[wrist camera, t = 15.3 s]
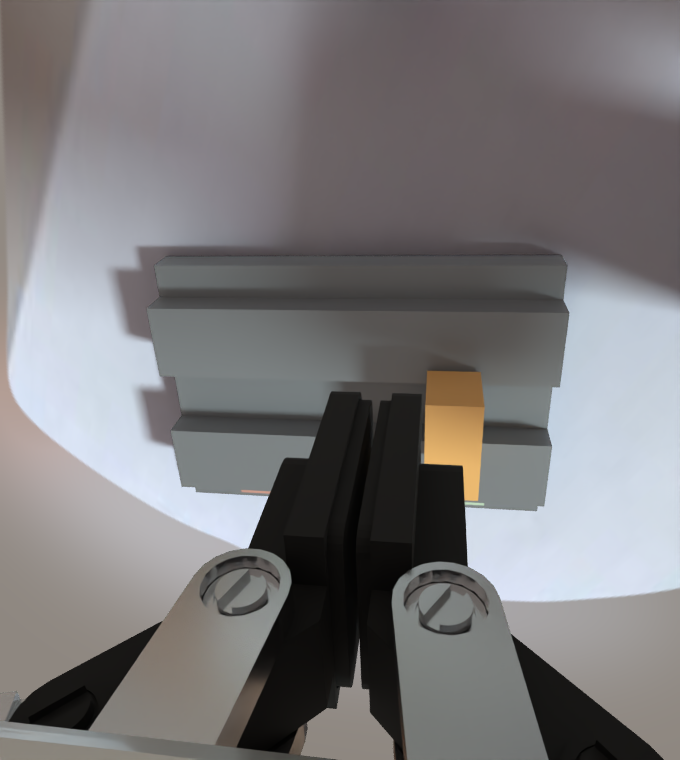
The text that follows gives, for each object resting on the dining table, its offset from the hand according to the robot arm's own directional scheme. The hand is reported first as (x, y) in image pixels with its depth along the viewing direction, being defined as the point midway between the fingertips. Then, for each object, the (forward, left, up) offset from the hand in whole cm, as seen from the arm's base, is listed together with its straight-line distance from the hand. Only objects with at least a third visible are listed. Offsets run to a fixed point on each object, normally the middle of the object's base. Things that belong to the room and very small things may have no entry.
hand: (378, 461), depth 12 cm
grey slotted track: (+4, +13, -27) cm, 30 cm away
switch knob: (-2, +12, -25) cm, 28 cm away
